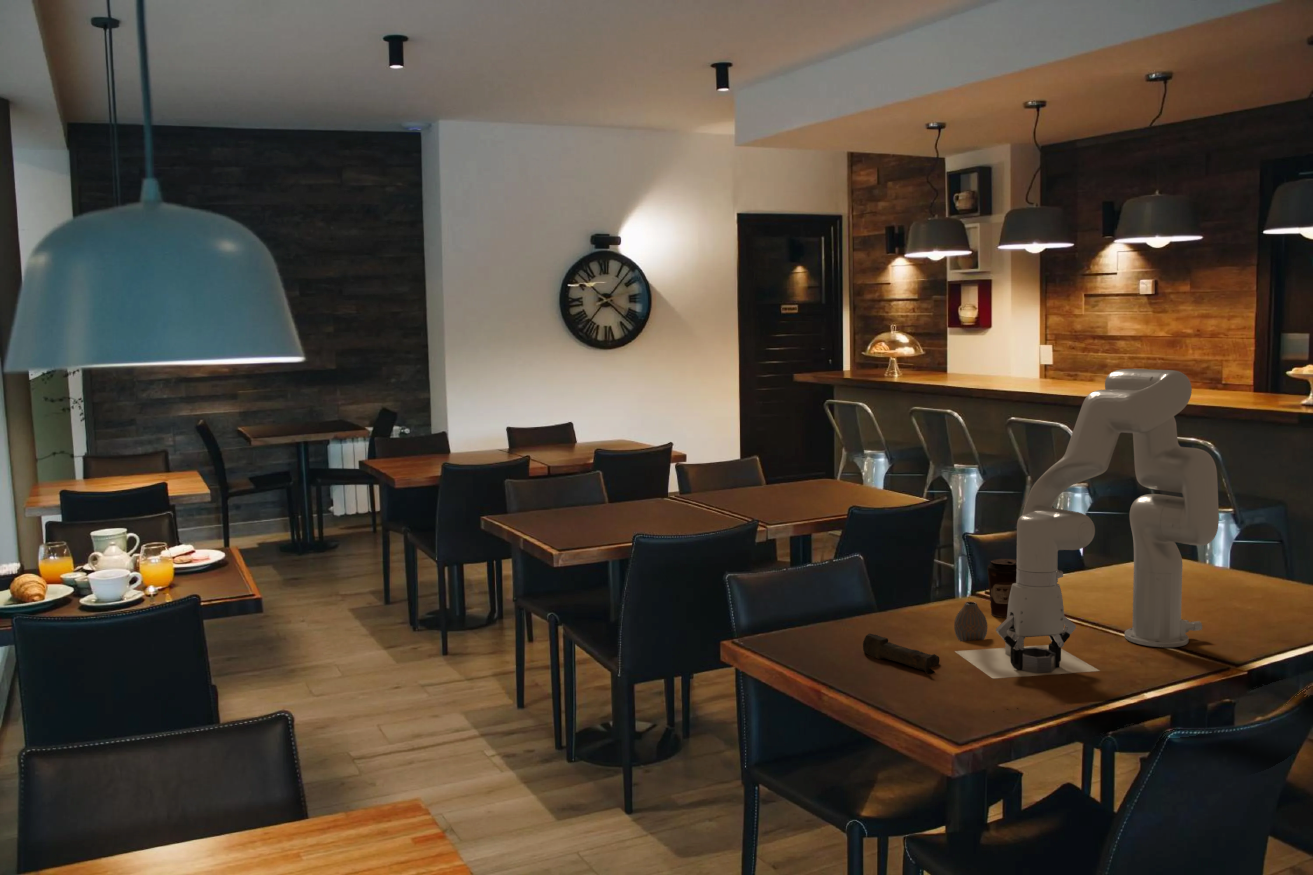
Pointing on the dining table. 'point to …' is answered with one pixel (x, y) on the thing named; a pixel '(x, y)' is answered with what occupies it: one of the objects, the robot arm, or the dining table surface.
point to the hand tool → (899, 653)
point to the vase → (970, 623)
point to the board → (1001, 667)
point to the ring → (1038, 660)
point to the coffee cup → (1001, 584)
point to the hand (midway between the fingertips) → (1035, 665)
